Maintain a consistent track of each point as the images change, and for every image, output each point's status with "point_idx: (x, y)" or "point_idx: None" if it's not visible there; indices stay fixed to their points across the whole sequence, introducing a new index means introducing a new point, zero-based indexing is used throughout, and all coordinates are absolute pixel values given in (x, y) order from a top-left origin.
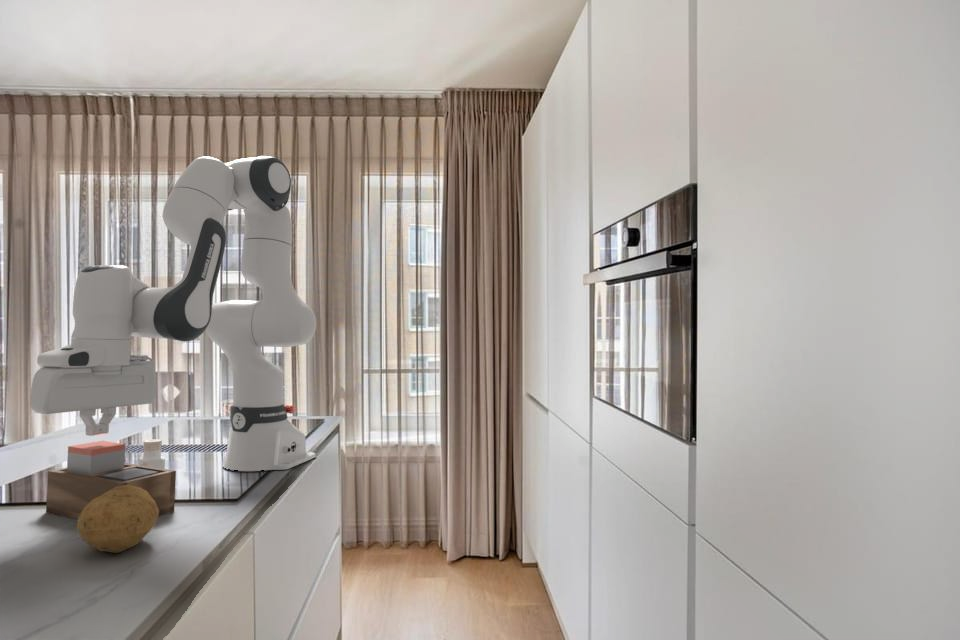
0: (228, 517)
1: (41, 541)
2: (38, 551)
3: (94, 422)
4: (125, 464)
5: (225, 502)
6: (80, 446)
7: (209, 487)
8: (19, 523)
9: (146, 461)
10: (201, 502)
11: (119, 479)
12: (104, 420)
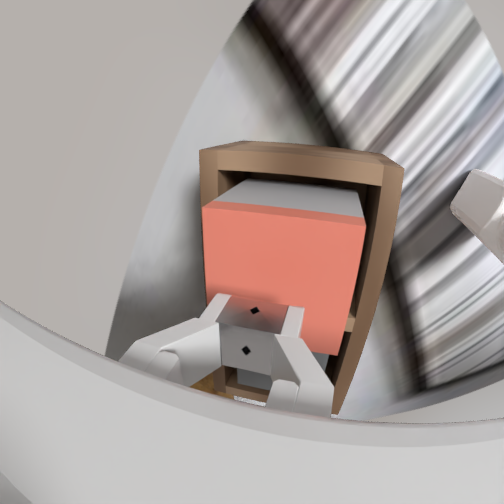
0: (336, 417)
1: (158, 281)
2: (143, 306)
3: (204, 374)
4: (365, 289)
5: (406, 386)
6: (224, 254)
7: (497, 308)
8: (179, 166)
9: (482, 241)
10: (401, 359)
11: (237, 370)
12: (277, 375)
